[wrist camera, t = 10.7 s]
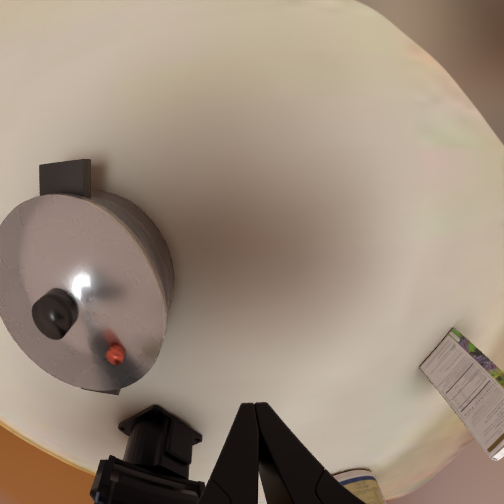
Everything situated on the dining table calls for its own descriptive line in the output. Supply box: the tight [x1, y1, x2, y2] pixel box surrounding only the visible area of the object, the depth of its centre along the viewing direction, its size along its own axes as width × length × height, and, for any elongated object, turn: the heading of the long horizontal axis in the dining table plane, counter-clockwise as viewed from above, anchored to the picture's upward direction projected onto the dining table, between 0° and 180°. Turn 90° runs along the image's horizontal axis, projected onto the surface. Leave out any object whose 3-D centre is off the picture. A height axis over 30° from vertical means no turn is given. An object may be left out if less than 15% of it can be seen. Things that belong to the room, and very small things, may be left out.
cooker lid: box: [0, 193, 167, 391], centre depth 13 cm, size 13×13×3 cm
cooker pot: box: [39, 159, 174, 395], centre depth 17 cm, size 13×14×4 cm
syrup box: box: [420, 328, 504, 460], centre depth 18 cm, size 6×6×14 cm
